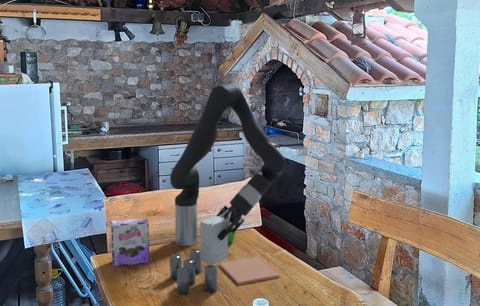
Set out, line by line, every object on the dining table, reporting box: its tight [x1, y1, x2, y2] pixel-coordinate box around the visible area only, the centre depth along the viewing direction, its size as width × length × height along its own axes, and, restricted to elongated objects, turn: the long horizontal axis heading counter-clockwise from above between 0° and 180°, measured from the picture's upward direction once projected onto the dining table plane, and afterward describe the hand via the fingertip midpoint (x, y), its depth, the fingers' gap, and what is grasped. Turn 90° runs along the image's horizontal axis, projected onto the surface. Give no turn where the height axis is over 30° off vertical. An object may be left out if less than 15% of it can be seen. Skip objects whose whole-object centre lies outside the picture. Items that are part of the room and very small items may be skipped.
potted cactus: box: [228, 222, 238, 244], centre depth 207 cm, size 11×9×11 cm
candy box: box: [110, 218, 150, 268], centre depth 182 cm, size 14×6×16 cm, turn 105°
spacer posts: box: [169, 248, 218, 296], centre depth 165 cm, size 20×13×8 cm, turn 24°
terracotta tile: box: [218, 256, 280, 286], centre depth 176 cm, size 18×16×1 cm
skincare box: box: [199, 215, 229, 266], centre depth 167 cm, size 8×6×15 cm
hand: (215, 235), depth 167 cm, fingers closed on skincare box, 7 cm apart
